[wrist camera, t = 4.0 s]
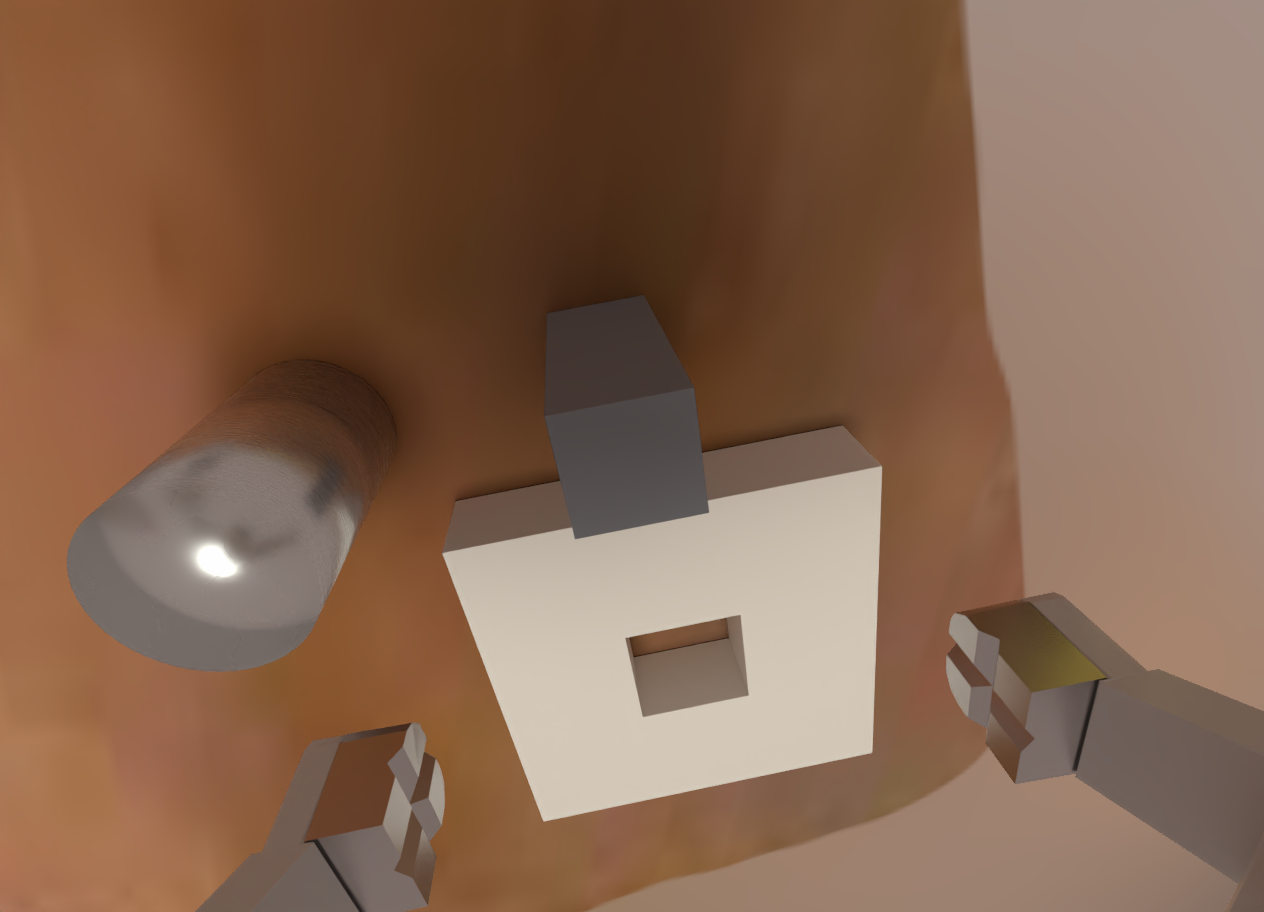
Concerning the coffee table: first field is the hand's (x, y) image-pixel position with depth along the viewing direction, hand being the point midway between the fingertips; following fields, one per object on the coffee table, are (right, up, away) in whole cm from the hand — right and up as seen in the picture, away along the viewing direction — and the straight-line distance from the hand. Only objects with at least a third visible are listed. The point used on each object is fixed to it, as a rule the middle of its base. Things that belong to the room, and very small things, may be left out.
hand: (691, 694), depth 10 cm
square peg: (-2, +7, +14) cm, 16 cm away
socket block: (+1, -4, +20) cm, 20 cm away
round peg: (-13, +4, +14) cm, 19 cm away
